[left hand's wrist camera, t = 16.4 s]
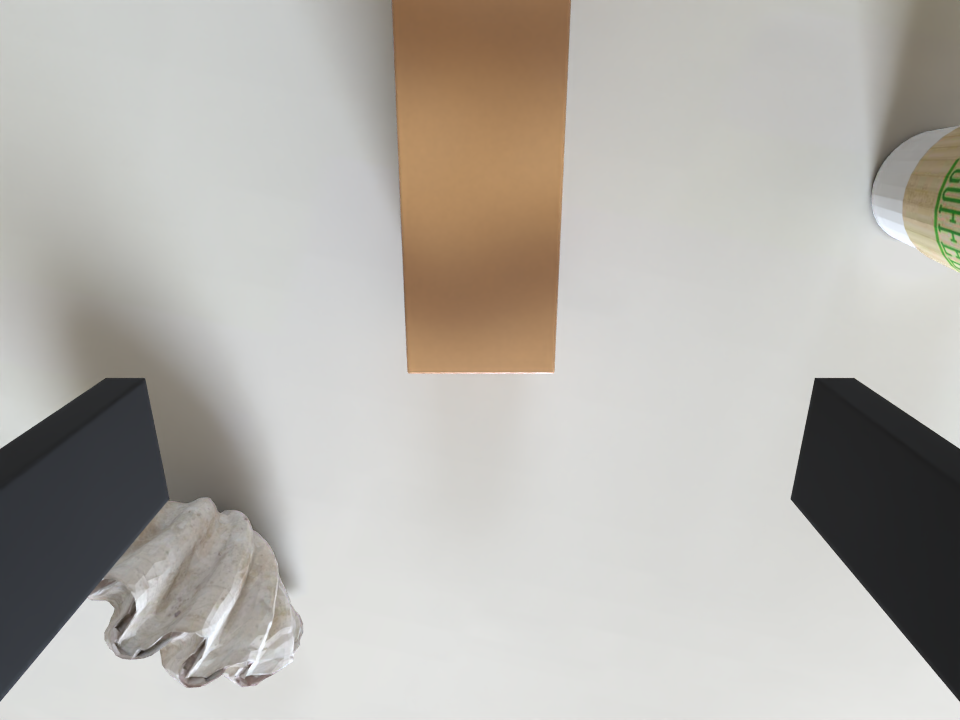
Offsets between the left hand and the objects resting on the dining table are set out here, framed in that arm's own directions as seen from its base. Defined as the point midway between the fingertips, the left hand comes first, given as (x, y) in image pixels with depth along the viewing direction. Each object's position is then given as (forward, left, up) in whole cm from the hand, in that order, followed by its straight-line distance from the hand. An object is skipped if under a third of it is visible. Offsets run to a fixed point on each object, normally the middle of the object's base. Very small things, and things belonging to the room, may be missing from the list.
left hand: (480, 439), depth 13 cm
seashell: (+16, +23, -26) cm, 38 cm away
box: (+1, -9, -26) cm, 27 cm away
